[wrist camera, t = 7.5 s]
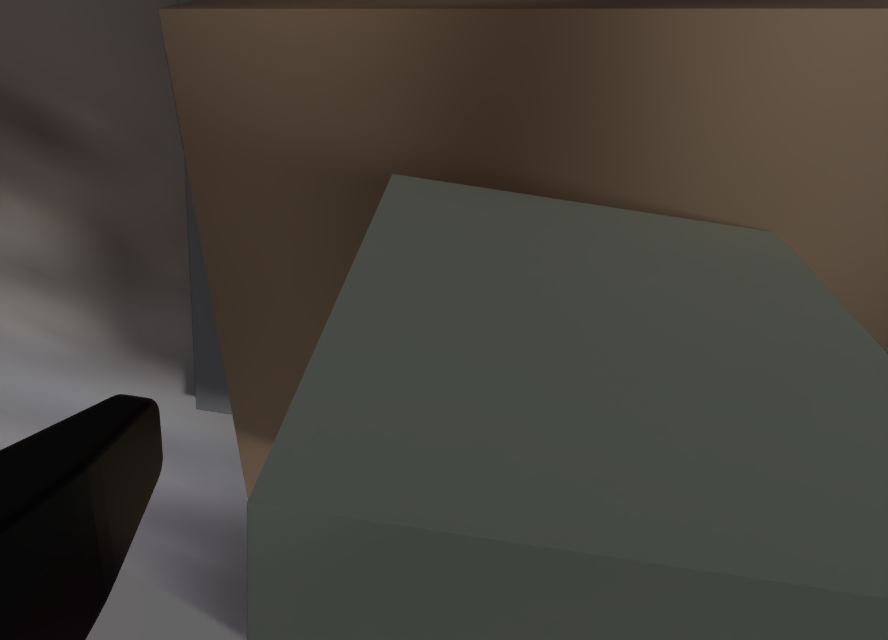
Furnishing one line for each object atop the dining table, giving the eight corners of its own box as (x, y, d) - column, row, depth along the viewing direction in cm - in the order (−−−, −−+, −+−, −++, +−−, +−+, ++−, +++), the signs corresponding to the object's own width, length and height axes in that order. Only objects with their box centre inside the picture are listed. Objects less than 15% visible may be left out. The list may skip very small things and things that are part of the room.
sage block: (774, 232, 9) (1149, 636, 4) (664, 515, 12) (803, 999, 6) (392, 173, 9) (245, 501, 4) (362, 470, 12) (247, 919, 6)
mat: (994, -2, 12) (1008, 0, 12) (766, 483, 17) (771, 495, 17) (181, -127, 12) (171, -129, 12) (202, 399, 17) (196, 409, 17)
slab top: (897, -7, 10) (1002, 8, 8) (756, 509, 14) (798, 602, 12) (224, -7, 10) (157, 8, 8) (294, 489, 15) (261, 575, 13)
